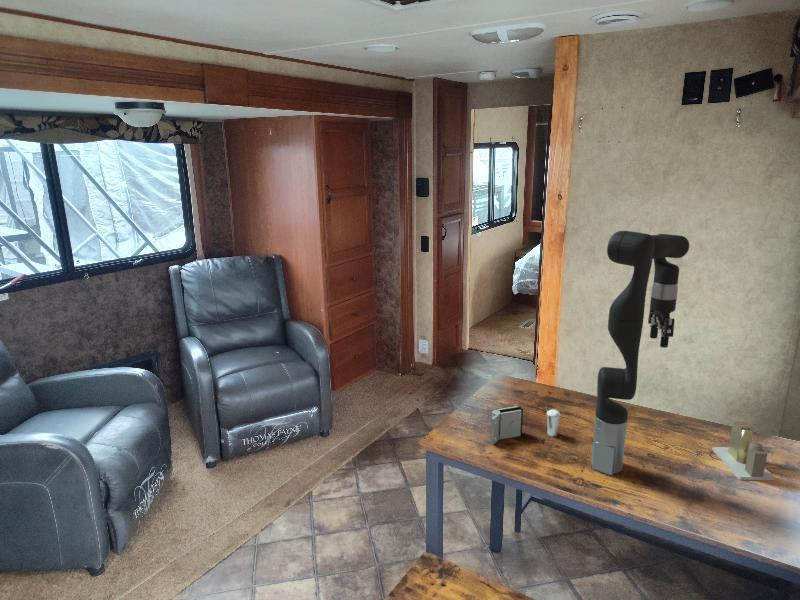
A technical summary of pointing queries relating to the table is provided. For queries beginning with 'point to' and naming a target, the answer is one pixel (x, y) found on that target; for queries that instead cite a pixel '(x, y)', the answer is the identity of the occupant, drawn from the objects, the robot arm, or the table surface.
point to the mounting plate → (739, 466)
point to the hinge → (506, 423)
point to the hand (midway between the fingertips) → (658, 342)
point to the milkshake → (552, 422)
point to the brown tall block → (740, 441)
